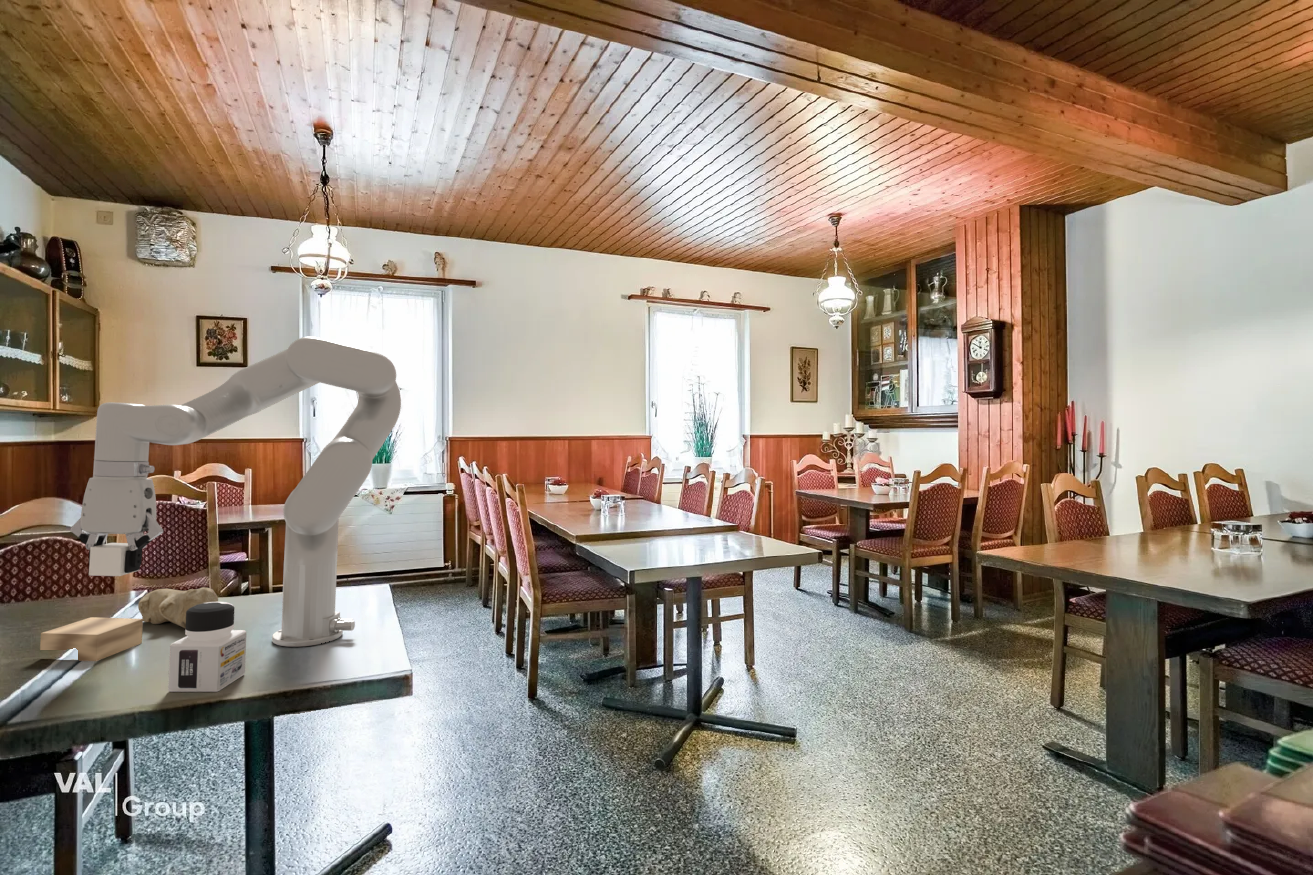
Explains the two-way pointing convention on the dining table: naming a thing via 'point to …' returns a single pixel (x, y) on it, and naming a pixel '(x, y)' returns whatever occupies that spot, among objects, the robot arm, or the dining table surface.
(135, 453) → the robot arm
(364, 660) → the dining table surface
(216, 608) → the container
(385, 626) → the dining table surface
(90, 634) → the oak block
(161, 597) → the sculpture
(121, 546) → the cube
